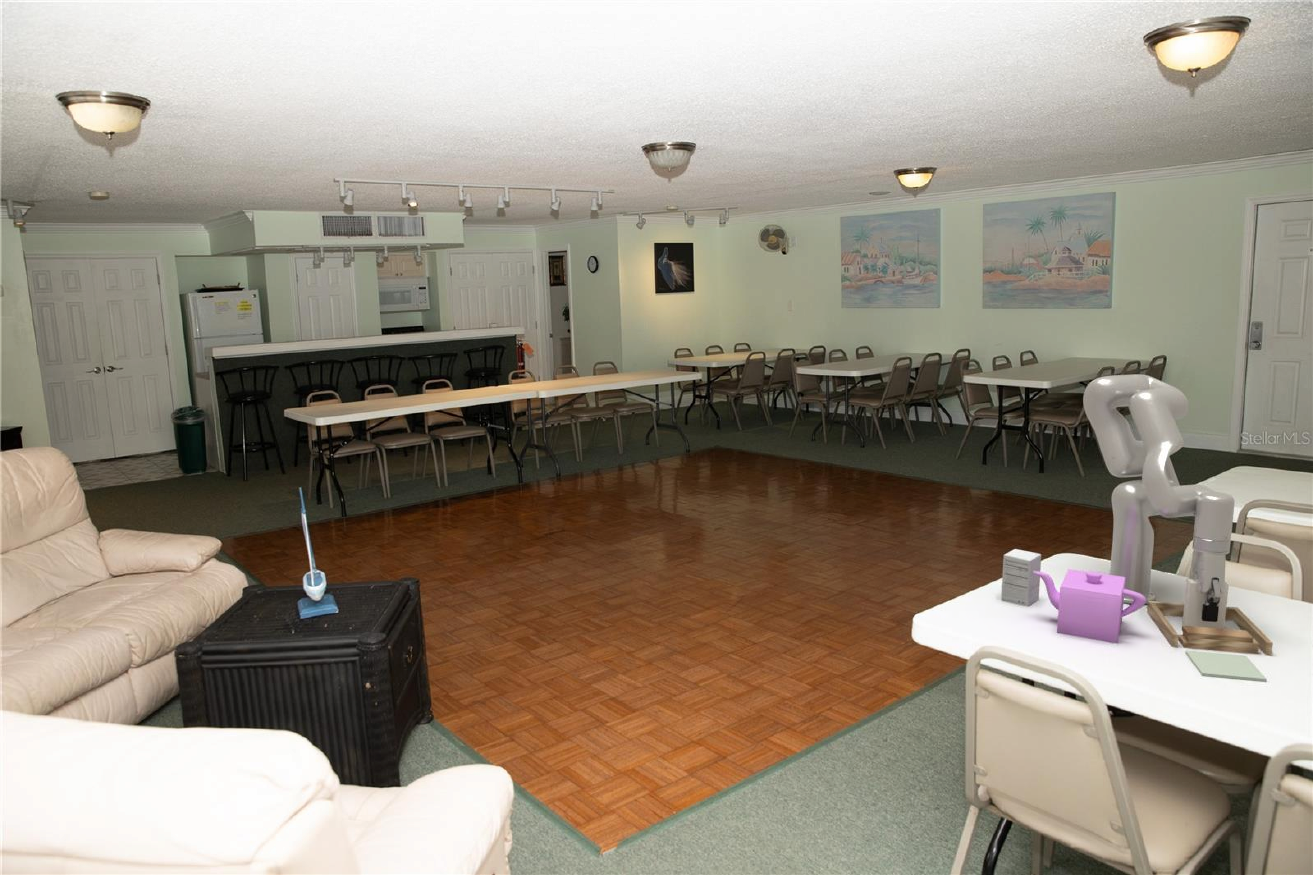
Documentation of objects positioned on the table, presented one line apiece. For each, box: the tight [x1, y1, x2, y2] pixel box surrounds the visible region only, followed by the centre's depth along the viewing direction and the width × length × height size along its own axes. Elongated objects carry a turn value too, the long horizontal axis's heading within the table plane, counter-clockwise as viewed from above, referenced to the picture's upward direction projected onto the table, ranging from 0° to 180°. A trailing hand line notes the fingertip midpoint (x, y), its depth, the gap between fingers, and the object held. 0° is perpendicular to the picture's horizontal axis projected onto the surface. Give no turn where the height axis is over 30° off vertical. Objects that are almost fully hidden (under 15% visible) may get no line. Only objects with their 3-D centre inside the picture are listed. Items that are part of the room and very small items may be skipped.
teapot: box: [1033, 568, 1146, 644], centre depth 214 cm, size 15×25×14 cm, turn 59°
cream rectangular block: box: [1181, 578, 1229, 629], centre depth 211 cm, size 8×3×12 cm, turn 74°
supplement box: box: [1000, 548, 1042, 607], centre depth 233 cm, size 7×7×13 cm
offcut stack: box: [1178, 625, 1260, 655], centre depth 202 cm, size 15×5×4 cm, turn 74°
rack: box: [1146, 600, 1273, 656], centre depth 210 cm, size 20×22×3 cm
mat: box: [1184, 649, 1268, 682], centre depth 192 cm, size 12×12×1 cm
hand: (1204, 614), depth 212 cm, fingers open, 6 cm apart
